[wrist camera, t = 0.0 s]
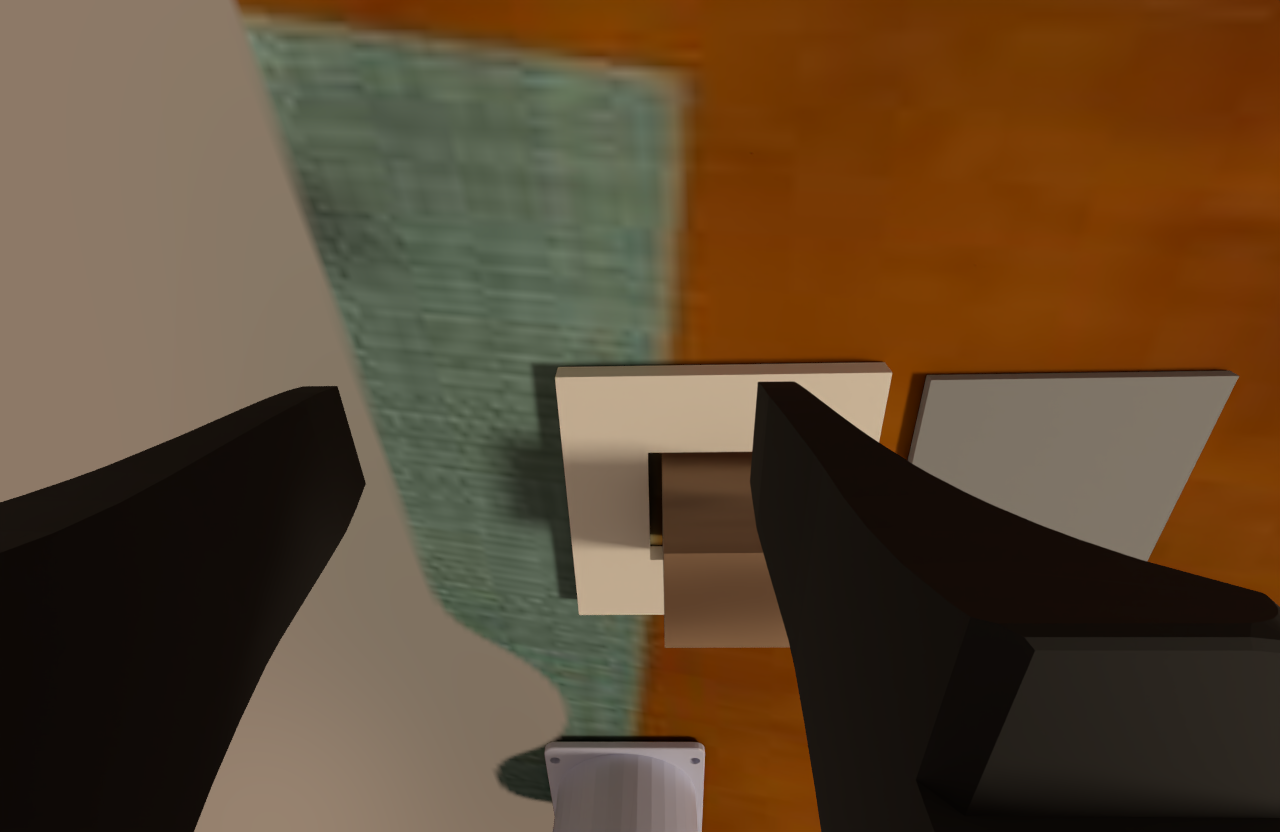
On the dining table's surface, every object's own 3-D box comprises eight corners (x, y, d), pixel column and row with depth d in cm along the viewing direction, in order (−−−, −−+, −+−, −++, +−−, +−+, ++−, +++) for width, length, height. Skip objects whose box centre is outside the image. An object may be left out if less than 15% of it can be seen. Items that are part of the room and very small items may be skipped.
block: (763, 534, 25) (789, 647, 20) (662, 535, 25) (664, 647, 20) (770, 449, 23) (801, 552, 18) (661, 450, 23) (663, 553, 18)
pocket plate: (840, 599, 27) (845, 613, 26) (580, 600, 27) (579, 615, 26) (884, 362, 21) (892, 372, 21) (558, 366, 22) (555, 377, 21)
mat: (1123, 589, 26) (1129, 596, 26) (878, 590, 26) (881, 597, 26) (1229, 370, 21) (1238, 375, 21) (926, 374, 21) (931, 380, 21)
